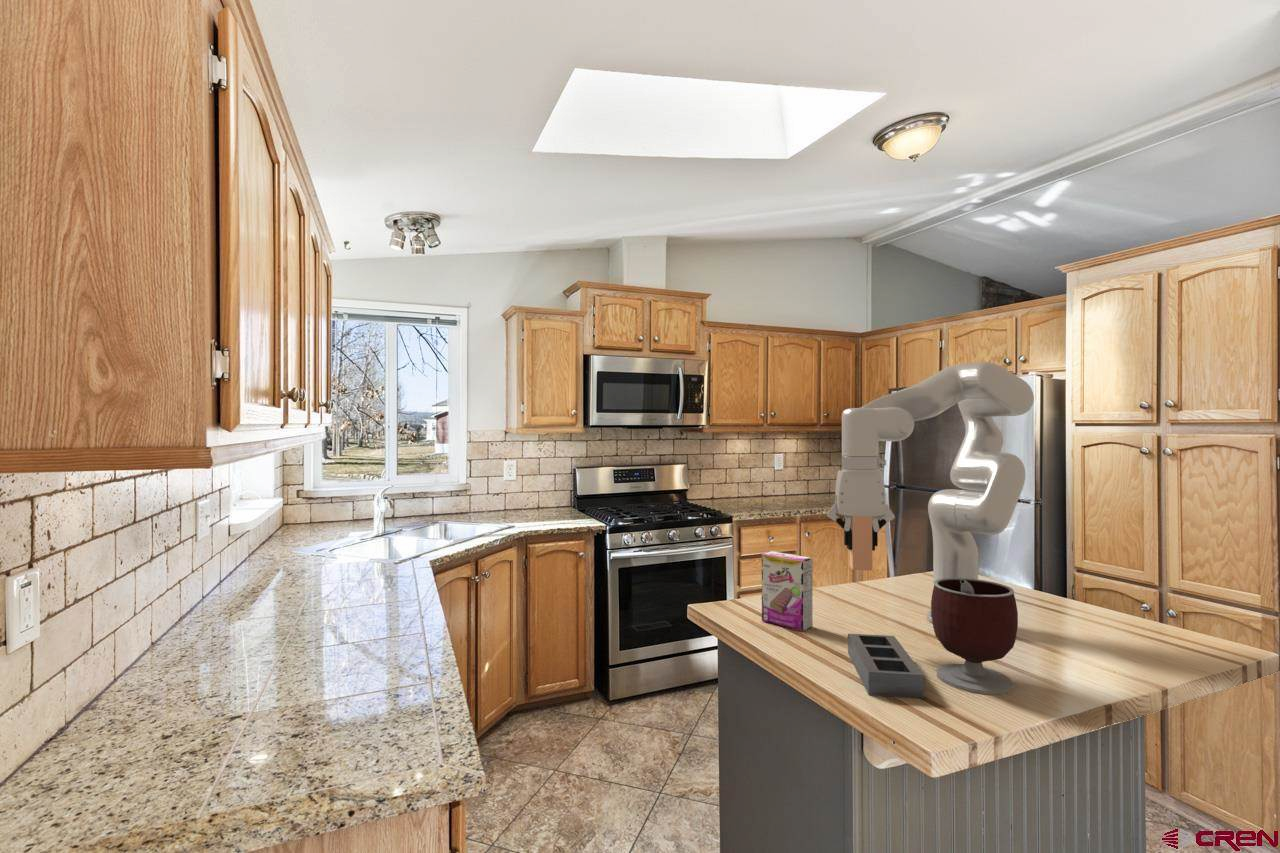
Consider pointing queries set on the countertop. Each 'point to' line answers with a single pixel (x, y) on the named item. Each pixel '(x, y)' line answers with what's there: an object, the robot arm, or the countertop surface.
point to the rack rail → (885, 666)
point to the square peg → (861, 543)
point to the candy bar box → (787, 590)
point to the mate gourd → (974, 631)
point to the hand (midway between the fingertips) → (860, 548)
